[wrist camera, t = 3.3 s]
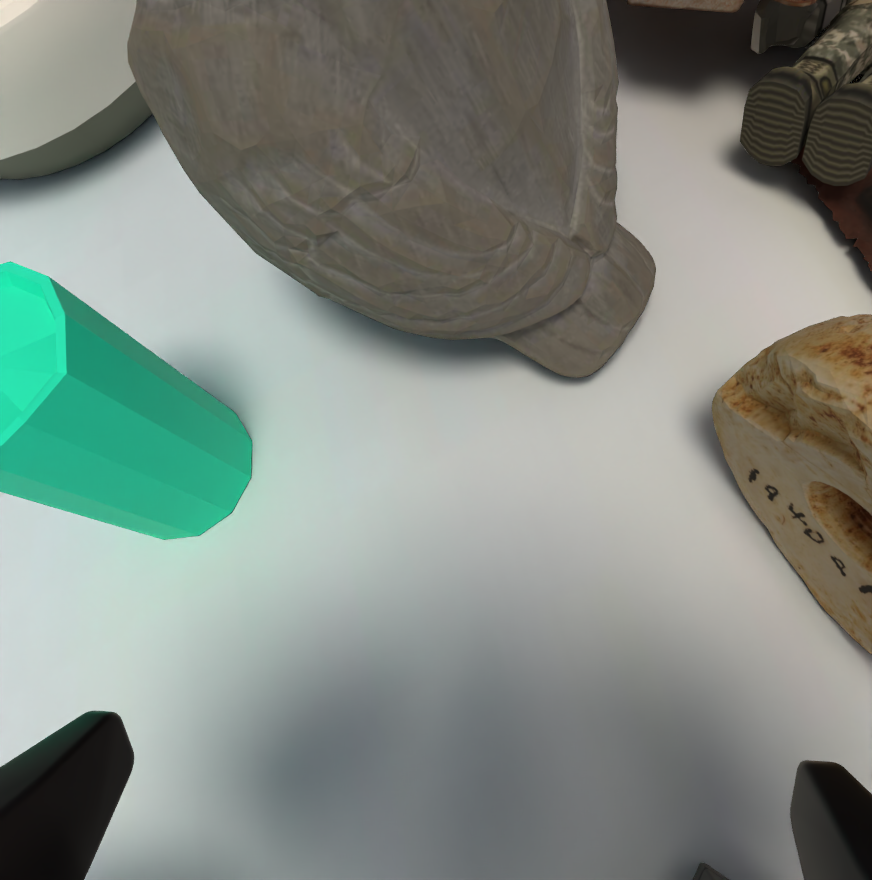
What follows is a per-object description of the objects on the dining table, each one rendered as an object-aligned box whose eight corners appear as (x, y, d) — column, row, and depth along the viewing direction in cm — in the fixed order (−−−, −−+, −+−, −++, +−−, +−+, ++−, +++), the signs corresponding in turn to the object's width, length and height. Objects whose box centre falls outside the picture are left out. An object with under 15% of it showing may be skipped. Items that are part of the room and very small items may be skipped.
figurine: (429, 59, 31) (212, -845, 12) (739, 206, 25) (1196, -1046, 7) (231, 275, 29) (-369, -399, 11) (517, 485, 24) (309, -168, 5)
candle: (100, 528, 27) (-241, 433, 15) (146, 393, 28) (-132, 219, 17) (230, 552, 25) (-44, 465, 14) (270, 408, 27) (54, 228, 16)
